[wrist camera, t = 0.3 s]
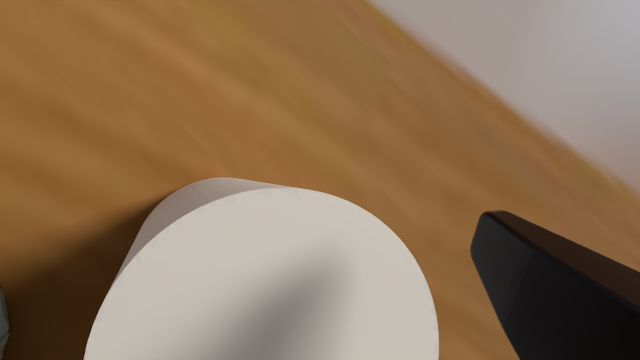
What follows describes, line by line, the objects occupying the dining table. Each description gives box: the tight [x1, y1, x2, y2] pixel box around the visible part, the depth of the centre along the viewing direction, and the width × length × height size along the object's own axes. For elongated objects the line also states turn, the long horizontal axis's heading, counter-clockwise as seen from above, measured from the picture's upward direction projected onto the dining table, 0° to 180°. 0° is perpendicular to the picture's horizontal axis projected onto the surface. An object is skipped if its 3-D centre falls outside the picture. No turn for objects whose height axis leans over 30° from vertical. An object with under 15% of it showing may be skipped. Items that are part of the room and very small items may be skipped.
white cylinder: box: [84, 178, 439, 360], centre depth 16 cm, size 8×8×12 cm
